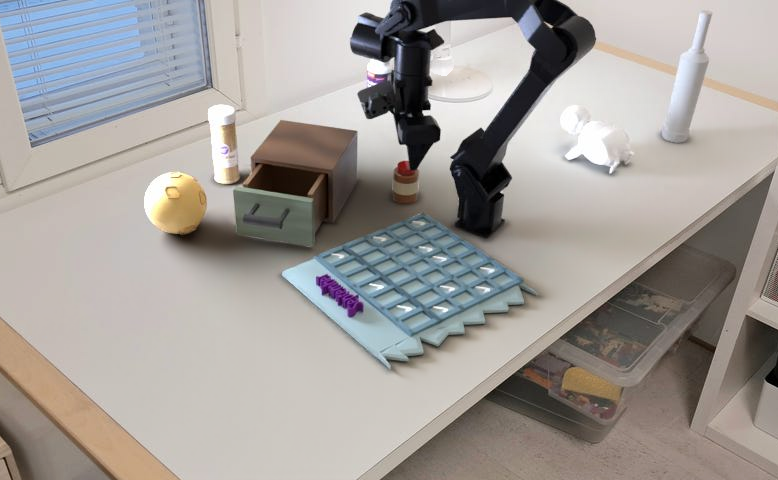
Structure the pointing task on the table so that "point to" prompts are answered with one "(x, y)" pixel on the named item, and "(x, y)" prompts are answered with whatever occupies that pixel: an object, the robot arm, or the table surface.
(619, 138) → the white animal figurine
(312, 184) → the drawer
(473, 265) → the calendar
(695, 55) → the bottle
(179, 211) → the stress ball
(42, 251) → the table surface
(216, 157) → the sprinkles bottle
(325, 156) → the cabinet
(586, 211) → the table surface
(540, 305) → the table surface
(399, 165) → the spice bottle
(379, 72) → the pill bottle
